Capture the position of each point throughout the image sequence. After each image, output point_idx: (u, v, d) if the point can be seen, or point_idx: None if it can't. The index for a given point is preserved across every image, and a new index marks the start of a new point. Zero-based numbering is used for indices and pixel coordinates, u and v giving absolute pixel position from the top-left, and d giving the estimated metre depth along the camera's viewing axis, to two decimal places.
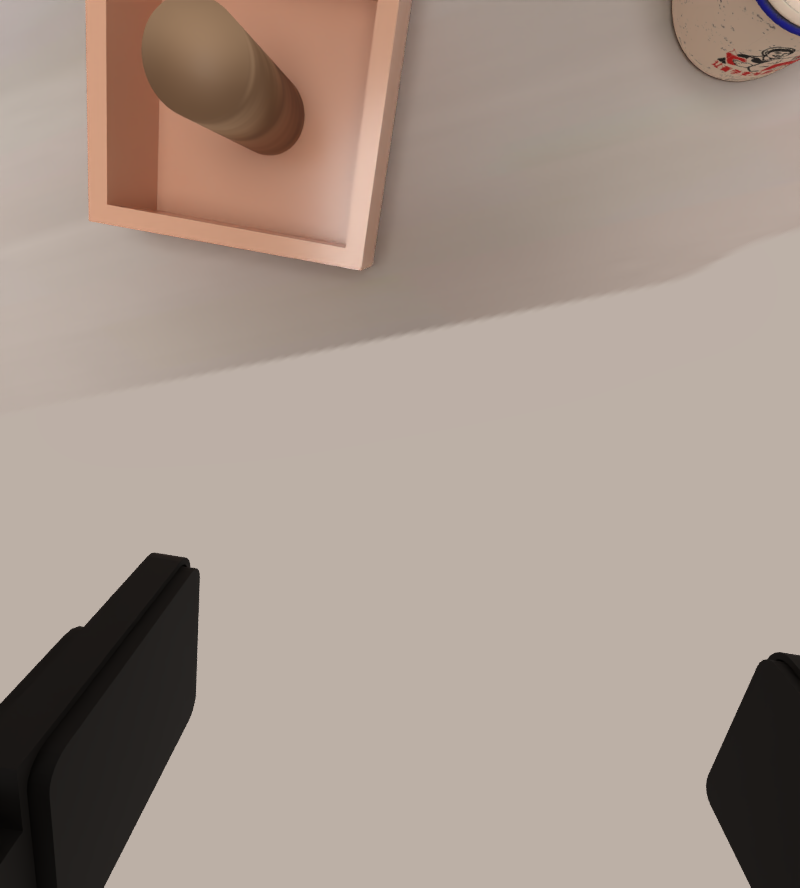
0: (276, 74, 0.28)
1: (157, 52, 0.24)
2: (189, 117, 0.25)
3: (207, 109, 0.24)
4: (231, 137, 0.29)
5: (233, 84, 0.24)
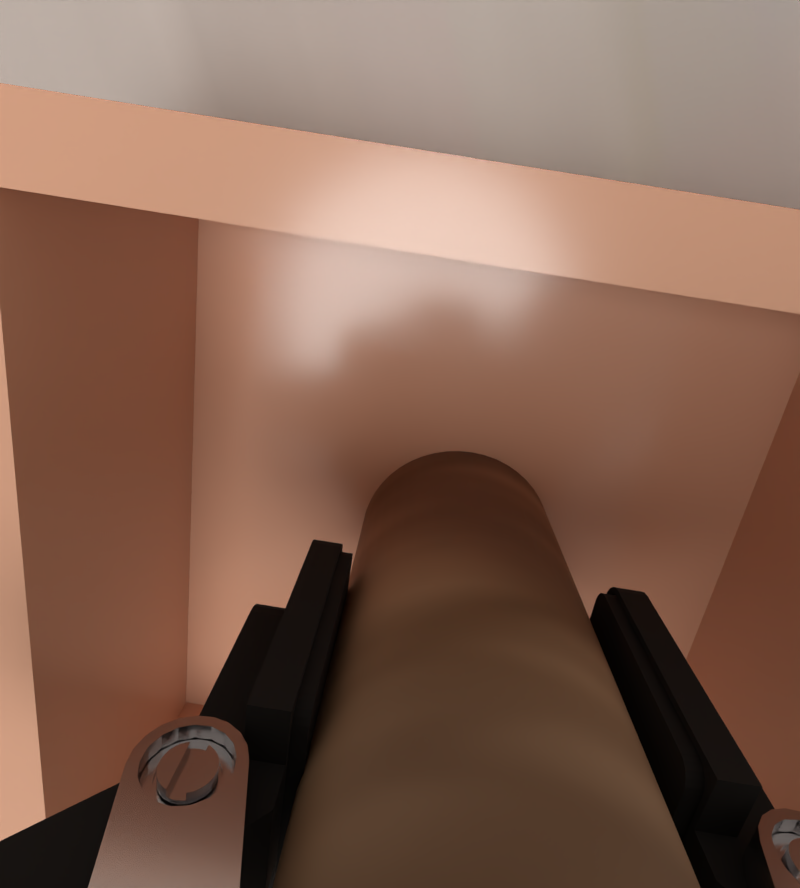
0: None
1: None
2: None
3: None
4: None
5: None
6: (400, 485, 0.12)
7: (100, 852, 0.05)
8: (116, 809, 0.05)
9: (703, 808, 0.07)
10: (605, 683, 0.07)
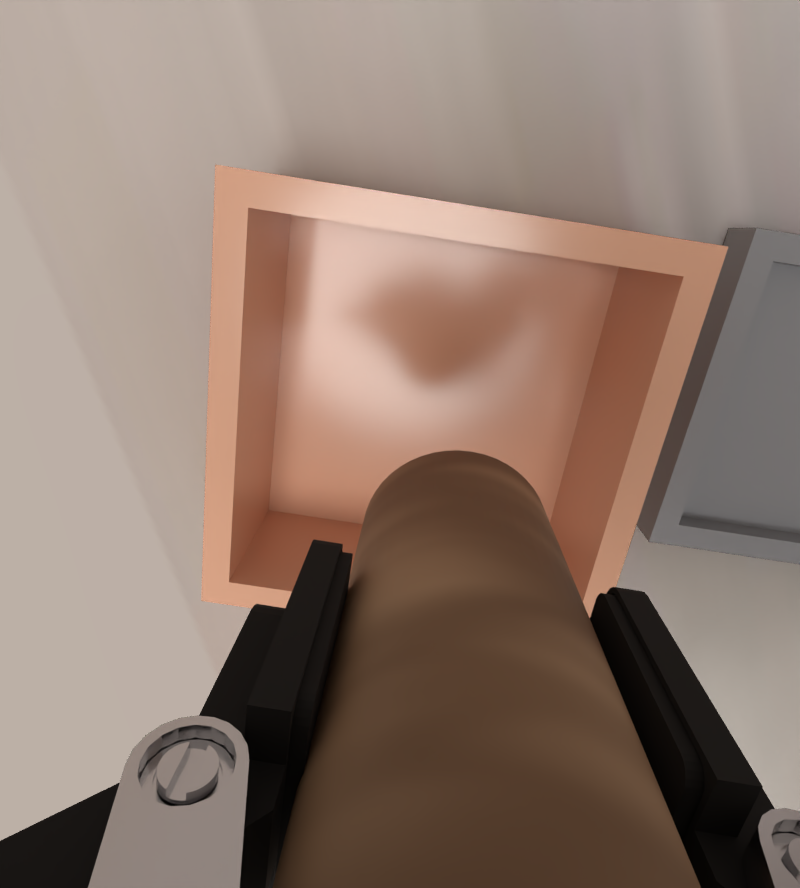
0: None
1: None
2: None
3: None
4: None
5: None
6: (400, 484, 0.12)
7: (100, 852, 0.05)
8: (116, 809, 0.05)
9: (703, 808, 0.07)
10: (605, 681, 0.07)
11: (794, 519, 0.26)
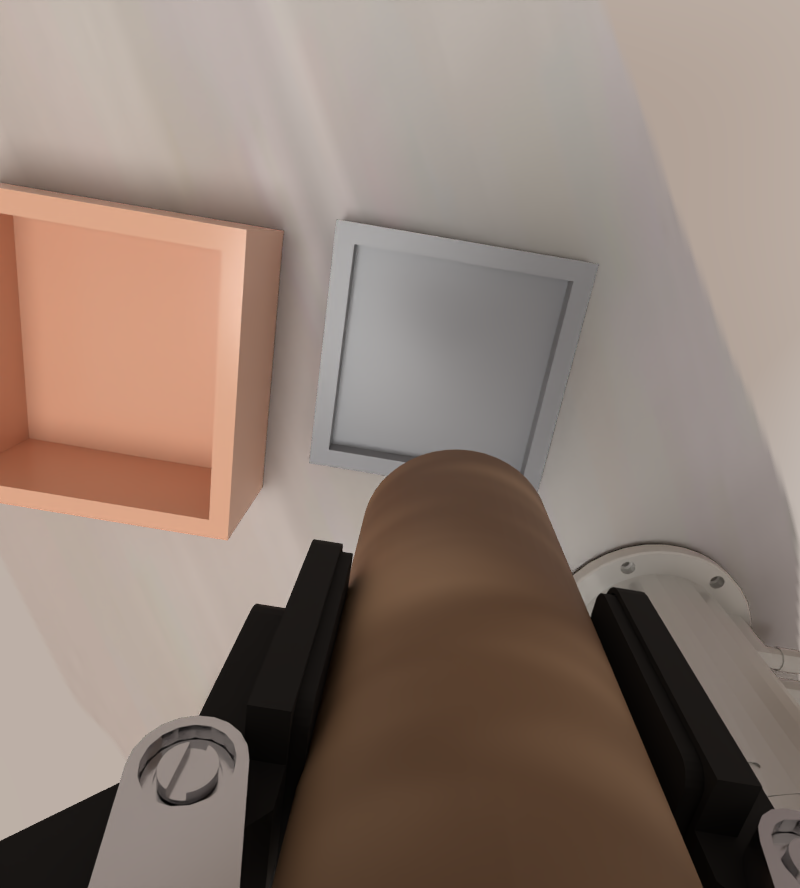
0: None
1: None
2: None
3: None
4: None
5: None
6: (400, 484, 0.12)
7: (100, 853, 0.05)
8: (116, 810, 0.05)
9: (703, 808, 0.07)
10: (606, 682, 0.07)
11: (427, 448, 0.33)
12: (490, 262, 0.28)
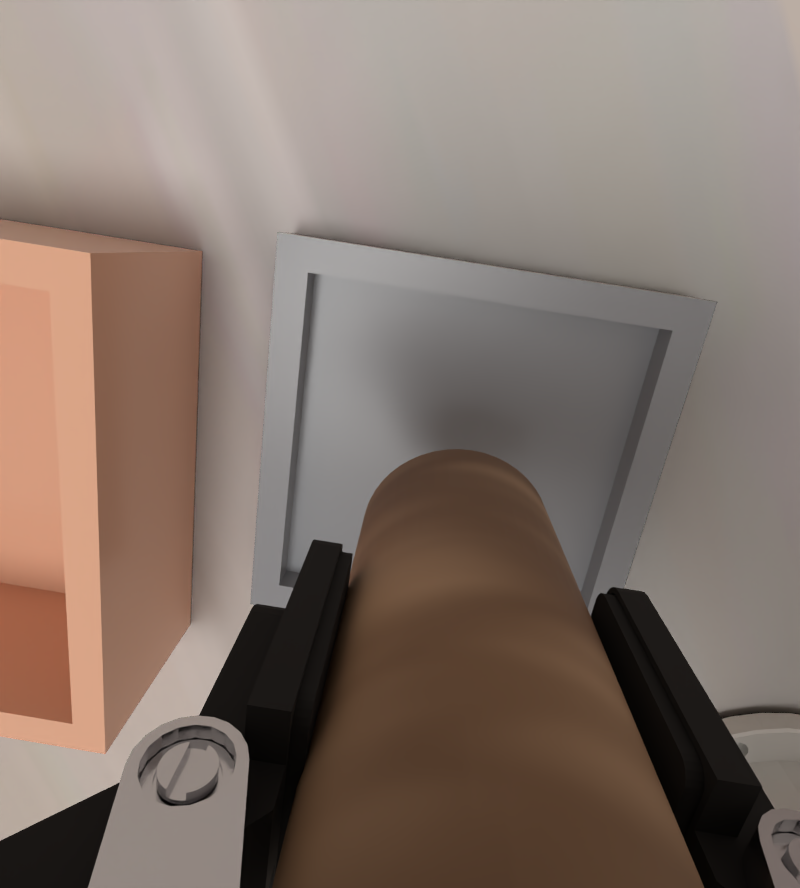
0: None
1: None
2: None
3: None
4: None
5: None
6: (400, 483, 0.12)
7: (100, 852, 0.05)
8: (116, 809, 0.05)
9: (703, 808, 0.07)
10: (607, 682, 0.07)
11: None
12: (533, 300, 0.17)
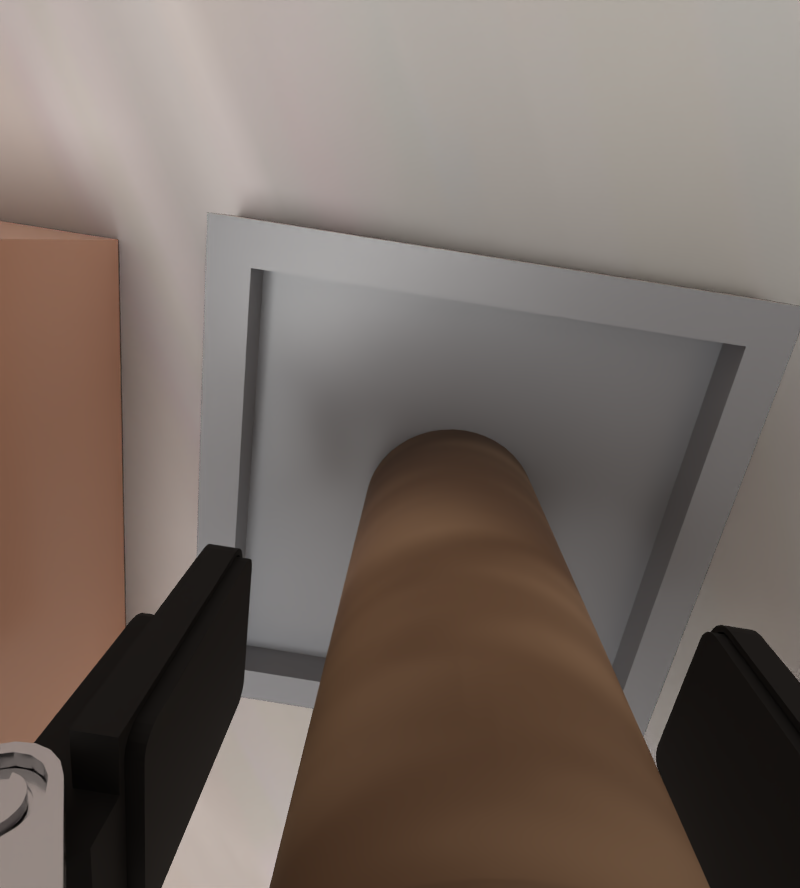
0: None
1: None
2: None
3: None
4: None
5: None
6: (400, 459, 0.14)
7: None
8: None
9: None
10: (576, 605, 0.09)
11: None
12: (558, 306, 0.12)
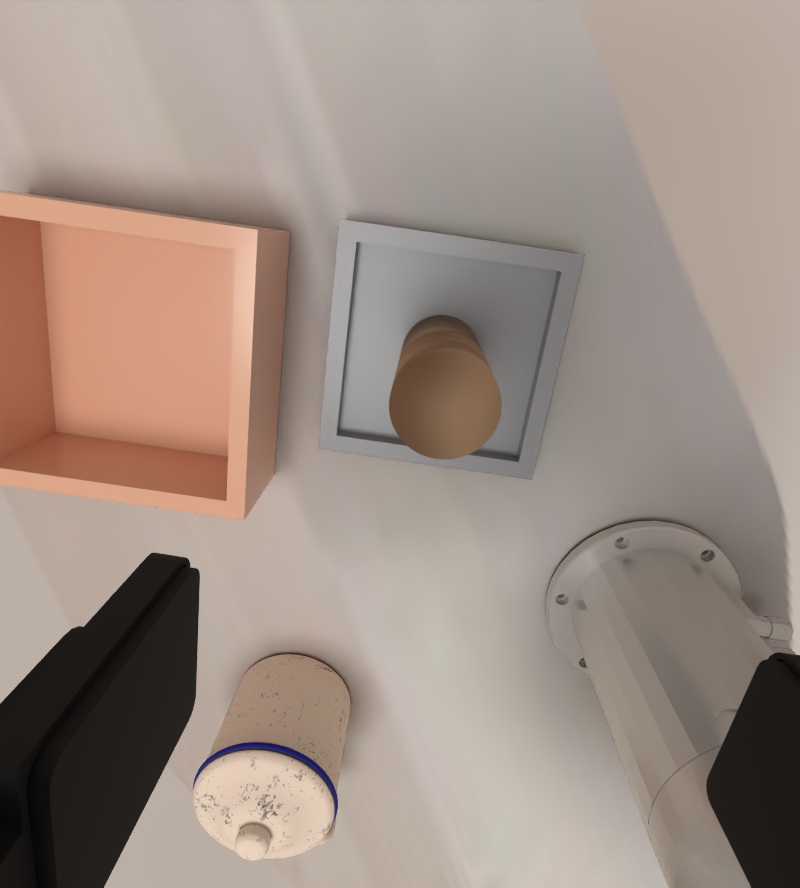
0: None
1: (450, 368, 0.22)
2: (390, 395, 0.23)
3: (398, 415, 0.23)
4: None
5: (421, 443, 0.23)
6: (418, 324, 0.31)
7: None
8: None
9: None
10: (478, 347, 0.26)
11: None
12: (483, 255, 0.30)
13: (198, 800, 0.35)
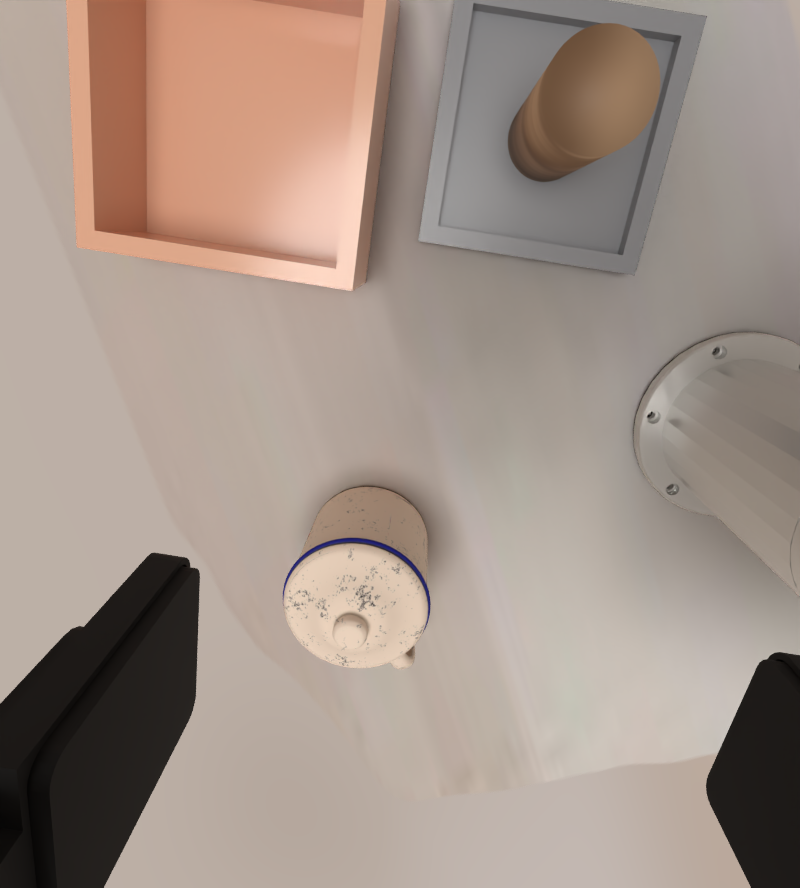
0: (579, 167, 0.28)
1: (611, 44, 0.22)
2: (545, 78, 0.22)
3: (551, 102, 0.23)
4: (525, 111, 0.27)
5: (572, 136, 0.23)
6: None
7: None
8: None
9: None
10: None
11: (529, 228, 0.34)
12: (602, 18, 0.30)
13: (290, 599, 0.34)
